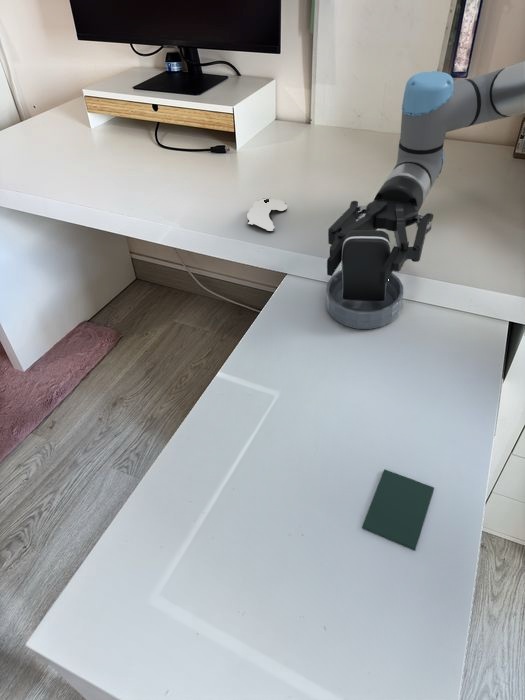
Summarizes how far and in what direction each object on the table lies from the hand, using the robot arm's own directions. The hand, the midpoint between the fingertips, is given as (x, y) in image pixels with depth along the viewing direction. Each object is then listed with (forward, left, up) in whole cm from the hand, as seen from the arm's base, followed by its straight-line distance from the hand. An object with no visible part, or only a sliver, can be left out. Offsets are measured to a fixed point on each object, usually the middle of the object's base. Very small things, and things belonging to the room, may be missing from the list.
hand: (355, 273), depth 73 cm
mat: (-16, +27, -10) cm, 33 cm away
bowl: (0, -5, -10) cm, 11 cm away
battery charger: (0, -5, -8) cm, 9 cm away
